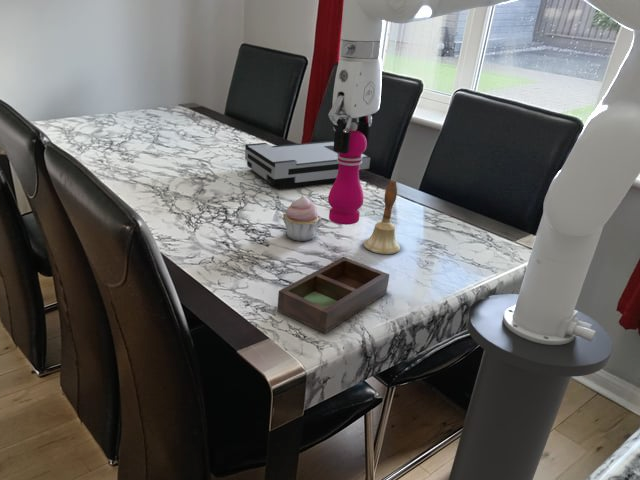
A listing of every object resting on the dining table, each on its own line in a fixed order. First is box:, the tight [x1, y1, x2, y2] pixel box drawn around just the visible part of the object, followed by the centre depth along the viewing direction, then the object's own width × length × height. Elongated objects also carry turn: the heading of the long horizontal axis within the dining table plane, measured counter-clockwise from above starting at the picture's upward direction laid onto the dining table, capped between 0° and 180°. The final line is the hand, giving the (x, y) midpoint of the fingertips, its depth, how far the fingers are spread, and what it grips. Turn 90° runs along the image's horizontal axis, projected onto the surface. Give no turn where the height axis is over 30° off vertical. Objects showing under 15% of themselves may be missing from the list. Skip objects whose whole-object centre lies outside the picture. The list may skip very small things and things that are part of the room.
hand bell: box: [363, 179, 401, 255], centre depth 130 cm, size 8×8×16 cm
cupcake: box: [282, 195, 322, 242], centre depth 135 cm, size 9×9×10 cm
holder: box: [277, 256, 390, 335], centre depth 109 cm, size 11×21×4 cm, turn 138°
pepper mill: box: [327, 121, 368, 226], centre depth 116 cm, size 7×7×20 cm
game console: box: [244, 140, 371, 191], centre depth 177 cm, size 21×32×8 cm, turn 114°
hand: (350, 148), depth 114 cm, fingers closed on pepper mill, 6 cm apart
